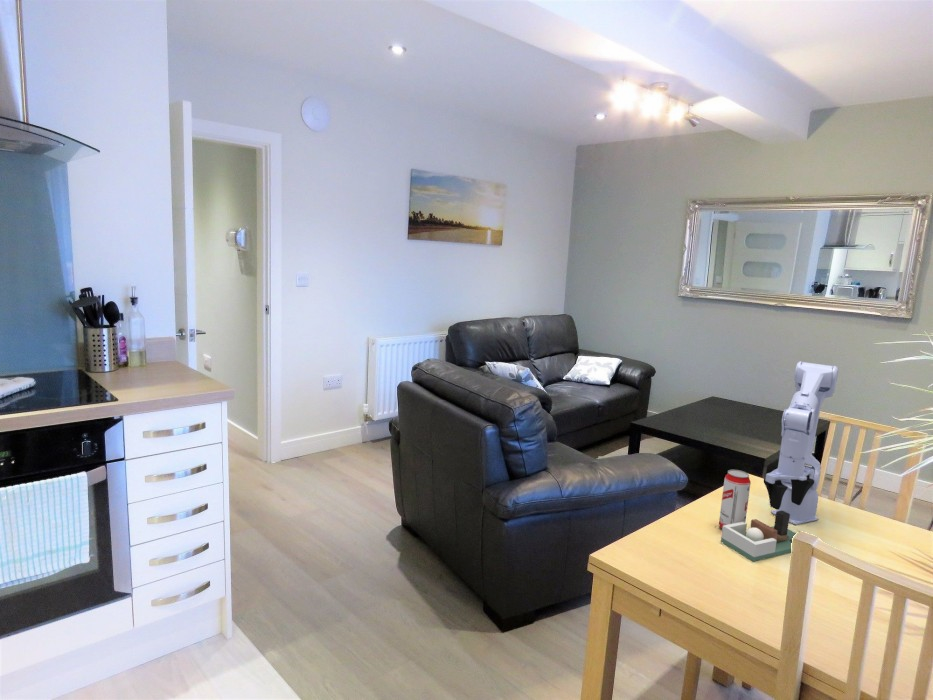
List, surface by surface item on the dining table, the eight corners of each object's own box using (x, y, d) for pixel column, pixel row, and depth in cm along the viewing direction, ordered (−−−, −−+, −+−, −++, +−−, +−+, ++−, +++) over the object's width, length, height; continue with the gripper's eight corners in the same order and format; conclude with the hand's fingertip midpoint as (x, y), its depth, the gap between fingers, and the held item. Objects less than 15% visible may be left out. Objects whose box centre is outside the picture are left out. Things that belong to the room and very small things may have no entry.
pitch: (779, 528, 155) (781, 513, 154) (813, 547, 146) (816, 531, 145) (720, 541, 147) (722, 525, 146) (753, 561, 138) (755, 544, 137)
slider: (772, 529, 151) (775, 506, 150) (793, 541, 145) (797, 517, 144) (749, 534, 148) (752, 511, 147) (770, 546, 142) (774, 522, 141)
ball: (752, 522, 146) (741, 529, 144) (766, 529, 142) (754, 537, 141) (755, 534, 147) (743, 542, 146) (768, 542, 143) (756, 550, 142)
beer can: (738, 525, 156) (746, 469, 153) (747, 536, 150) (755, 478, 147) (715, 523, 157) (722, 467, 154) (722, 534, 150) (730, 477, 148)
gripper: (786, 464, 137) (778, 516, 140) (827, 457, 143) (819, 508, 145) (761, 454, 144) (754, 504, 146) (802, 448, 149) (794, 496, 152)
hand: (785, 505), depth 146 cm, fingers open, 7 cm apart
